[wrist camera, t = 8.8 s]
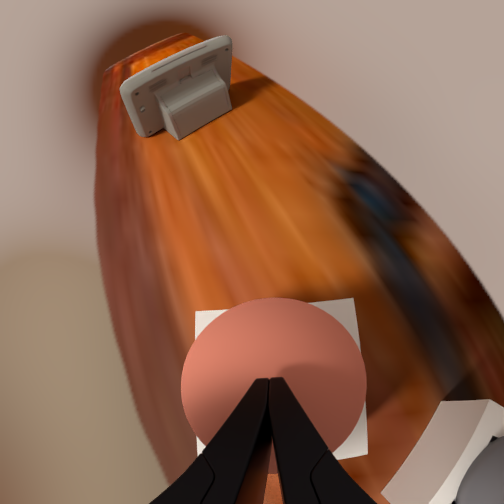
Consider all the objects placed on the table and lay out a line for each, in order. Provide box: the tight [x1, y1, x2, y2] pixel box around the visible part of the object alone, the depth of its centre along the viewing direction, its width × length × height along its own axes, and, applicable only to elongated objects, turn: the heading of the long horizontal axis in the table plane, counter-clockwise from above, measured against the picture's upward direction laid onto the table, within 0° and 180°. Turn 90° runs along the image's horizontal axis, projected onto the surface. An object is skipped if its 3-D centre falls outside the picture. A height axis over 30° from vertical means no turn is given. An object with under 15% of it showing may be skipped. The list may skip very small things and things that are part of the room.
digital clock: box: [120, 35, 232, 140], centre depth 32 cm, size 16×9×11 cm, turn 118°
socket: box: [381, 399, 504, 504], centre depth 11 cm, size 9×9×7 cm
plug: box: [454, 436, 504, 504], centre depth 10 cm, size 6×6×8 cm
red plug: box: [181, 298, 367, 474], centre depth 12 cm, size 6×6×8 cm
